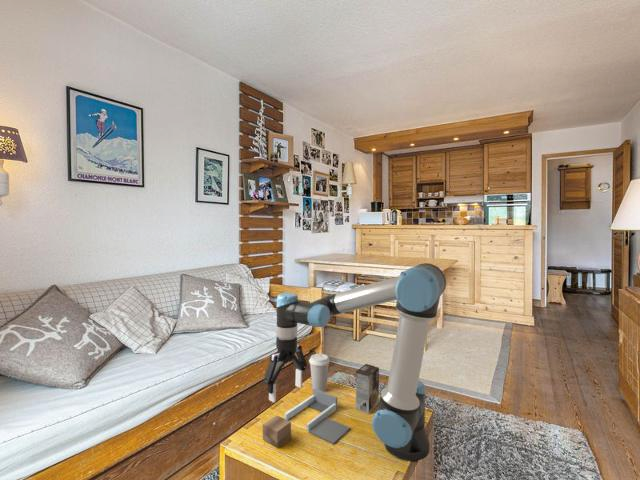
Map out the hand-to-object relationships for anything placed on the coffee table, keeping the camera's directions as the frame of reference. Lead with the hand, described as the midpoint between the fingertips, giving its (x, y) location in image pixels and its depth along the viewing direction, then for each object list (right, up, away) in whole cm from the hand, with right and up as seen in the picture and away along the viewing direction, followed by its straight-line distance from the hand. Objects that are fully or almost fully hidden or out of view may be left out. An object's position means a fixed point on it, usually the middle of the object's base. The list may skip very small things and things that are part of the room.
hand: (286, 393), depth 125 cm
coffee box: (+32, -14, +18) cm, 39 cm away
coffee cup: (+12, -13, +33) cm, 37 cm away
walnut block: (-3, -15, -4) cm, 15 cm away
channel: (+9, -14, +12) cm, 20 cm away
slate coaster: (+16, -14, +1) cm, 21 cm away
